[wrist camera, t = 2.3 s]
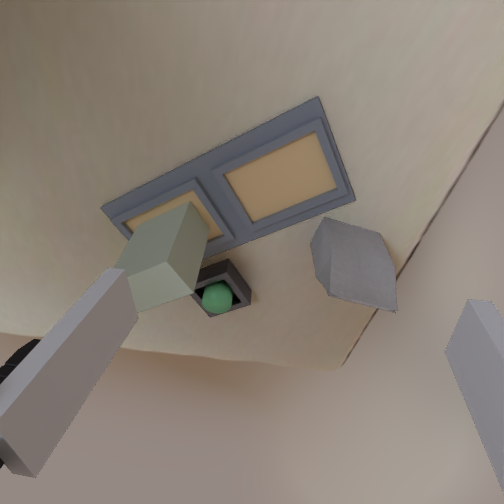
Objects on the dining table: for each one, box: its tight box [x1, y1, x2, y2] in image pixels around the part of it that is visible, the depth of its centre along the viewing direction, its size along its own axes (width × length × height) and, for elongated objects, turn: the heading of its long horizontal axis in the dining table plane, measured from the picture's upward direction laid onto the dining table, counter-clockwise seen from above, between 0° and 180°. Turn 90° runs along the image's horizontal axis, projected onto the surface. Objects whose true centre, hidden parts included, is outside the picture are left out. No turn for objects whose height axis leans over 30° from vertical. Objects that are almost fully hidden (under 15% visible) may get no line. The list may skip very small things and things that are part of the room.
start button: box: [202, 280, 233, 314], centre depth 40 cm, size 4×4×2 cm
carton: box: [114, 201, 210, 313], centre depth 33 cm, size 7×4×10 cm, turn 117°
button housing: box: [190, 259, 251, 317], centre depth 41 cm, size 6×6×2 cm
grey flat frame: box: [101, 96, 355, 260], centre depth 35 cm, size 25×11×1 cm, turn 117°
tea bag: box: [310, 217, 398, 313], centre depth 33 cm, size 4×7×10 cm, turn 73°
